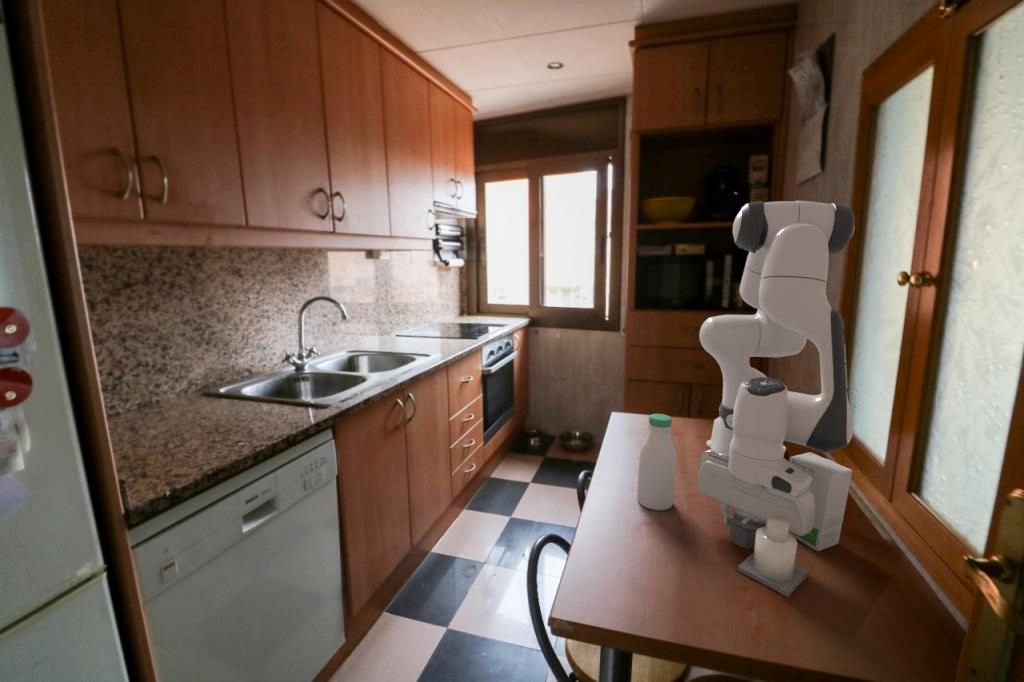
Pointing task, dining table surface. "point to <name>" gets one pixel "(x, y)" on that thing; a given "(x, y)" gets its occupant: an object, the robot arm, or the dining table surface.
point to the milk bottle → (657, 465)
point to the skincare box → (824, 498)
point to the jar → (774, 558)
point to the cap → (745, 529)
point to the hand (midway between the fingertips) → (747, 532)
